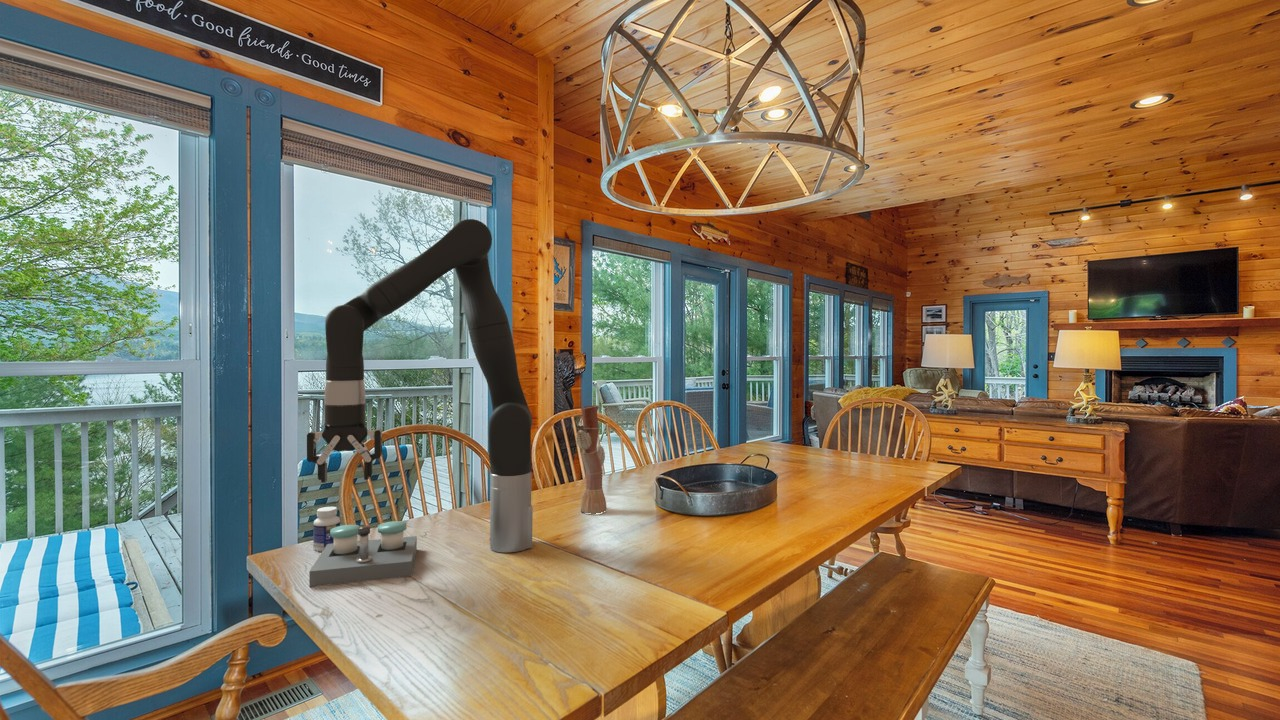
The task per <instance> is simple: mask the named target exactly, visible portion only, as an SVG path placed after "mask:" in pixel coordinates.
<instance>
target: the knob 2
mask: <svg viewBox="0 0 1280 720" xmlns="http://www.w3.org/2000/svg"><path fill="white" fill-rule="evenodd" d="M406 530H407V522H405V521H401V520H398V521H397V520H394V521H393V520H392V521H386V522H382V523H380V524H378V525H377V532H378V534H380V539H381V548H382V549H386V550H390V549H397V548H400V547H402V546H403V537H404V531H406Z"/></svg>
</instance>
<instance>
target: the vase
mask: <svg viewBox="0 0 1280 720" xmlns="http://www.w3.org/2000/svg"><path fill="white" fill-rule="evenodd" d="M599 408H600V407H599V405H598V404H594V405H591V406H586V405H585V406H582V407H581V409H580V410H581V417H582V418H581V419H582V426H583V428H582V429H580V430H578V431H577V434H576V445H577V446H578V448H579V449H580V455H581V459H582V462H583V466H584V469H585V480H586V482H585V489H584V492H583V495H582V498H581V502H580V510H581V511H582V512H584V513H591V514H596V513H601V512H604V511H606V510H607V501H606V496H605V493H604V489H603V468H602V467H603V465H604V464H605V463H604V462H605V459H606V453H605V449H604V447H603V446H602V445H598V438H599V432H600V431H599V430H600V423H599V418H598V410H599ZM581 511H580V512H581ZM582 512H581V513H582ZM606 512H607V511H606Z"/></svg>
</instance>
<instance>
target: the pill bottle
mask: <svg viewBox="0 0 1280 720" xmlns="http://www.w3.org/2000/svg"><path fill="white" fill-rule="evenodd" d="M337 514H338V508H337V506H324V507H320V508H318V509H317V510H316V517H317V518H316V519H314V520H313V528H312V529H313V532H312V533H313V535H312V536H313V542H312V543H313V544H312V545H313V551H316V552H323V550H324V549H325V547H326V546H327V544H331V543H334V538H333V537H331V536H330V530H331V529H332V528H335V527H338V526H341V520H340V518H339V517H338V516H337Z"/></svg>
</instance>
